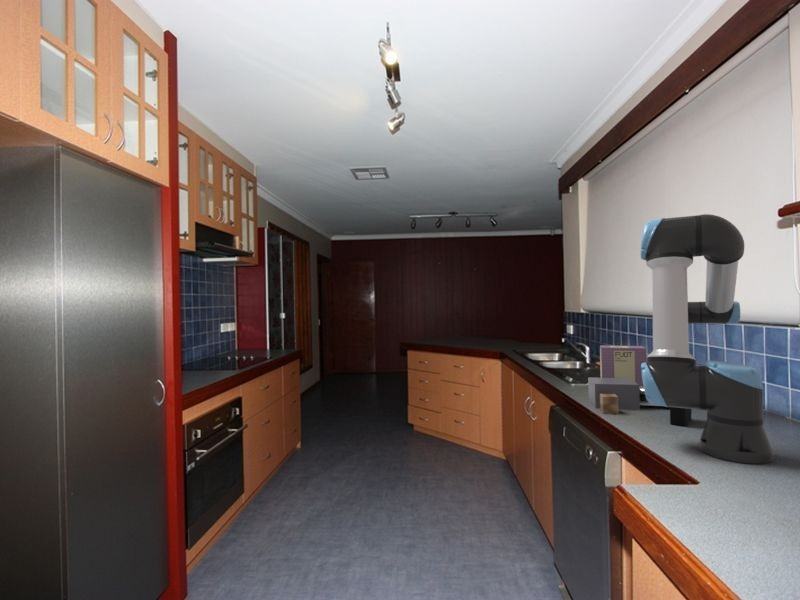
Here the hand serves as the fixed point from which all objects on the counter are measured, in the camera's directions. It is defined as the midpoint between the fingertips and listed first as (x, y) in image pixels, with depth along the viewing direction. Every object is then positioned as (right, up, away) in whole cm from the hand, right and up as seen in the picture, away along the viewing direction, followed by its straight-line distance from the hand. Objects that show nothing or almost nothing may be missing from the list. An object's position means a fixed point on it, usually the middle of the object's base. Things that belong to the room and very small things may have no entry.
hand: (676, 401), depth 164 cm
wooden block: (-28, -2, -6) cm, 29 cm away
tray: (-10, -2, +2) cm, 11 cm away
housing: (-21, -2, +5) cm, 22 cm away
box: (-8, -2, +23) cm, 25 cm away
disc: (-10, +3, +2) cm, 10 cm away
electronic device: (-12, -2, -21) cm, 24 cm away
